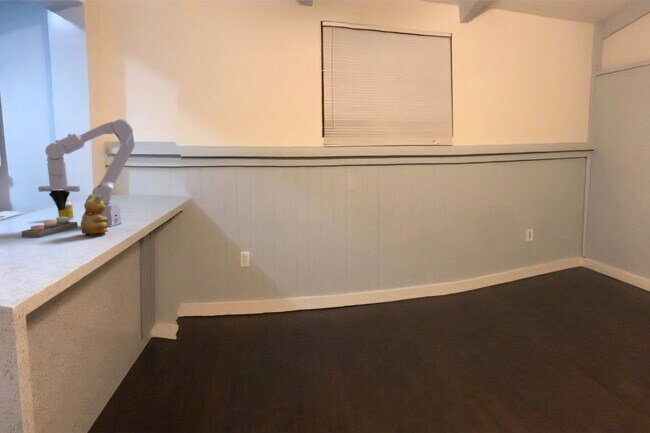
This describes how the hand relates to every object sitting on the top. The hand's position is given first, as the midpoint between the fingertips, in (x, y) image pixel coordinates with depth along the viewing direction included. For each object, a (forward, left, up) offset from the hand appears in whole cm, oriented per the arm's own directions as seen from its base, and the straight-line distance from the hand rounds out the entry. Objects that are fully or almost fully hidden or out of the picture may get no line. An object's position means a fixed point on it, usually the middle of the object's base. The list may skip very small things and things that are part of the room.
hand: (61, 209), depth 156 cm
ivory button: (0, +6, -5) cm, 8 cm away
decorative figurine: (-20, +9, -8) cm, 23 cm away
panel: (0, +6, -7) cm, 10 cm away
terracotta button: (0, +12, -6) cm, 13 cm away
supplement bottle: (+13, -17, -8) cm, 23 cm away
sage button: (0, 0, -5) cm, 5 cm away
